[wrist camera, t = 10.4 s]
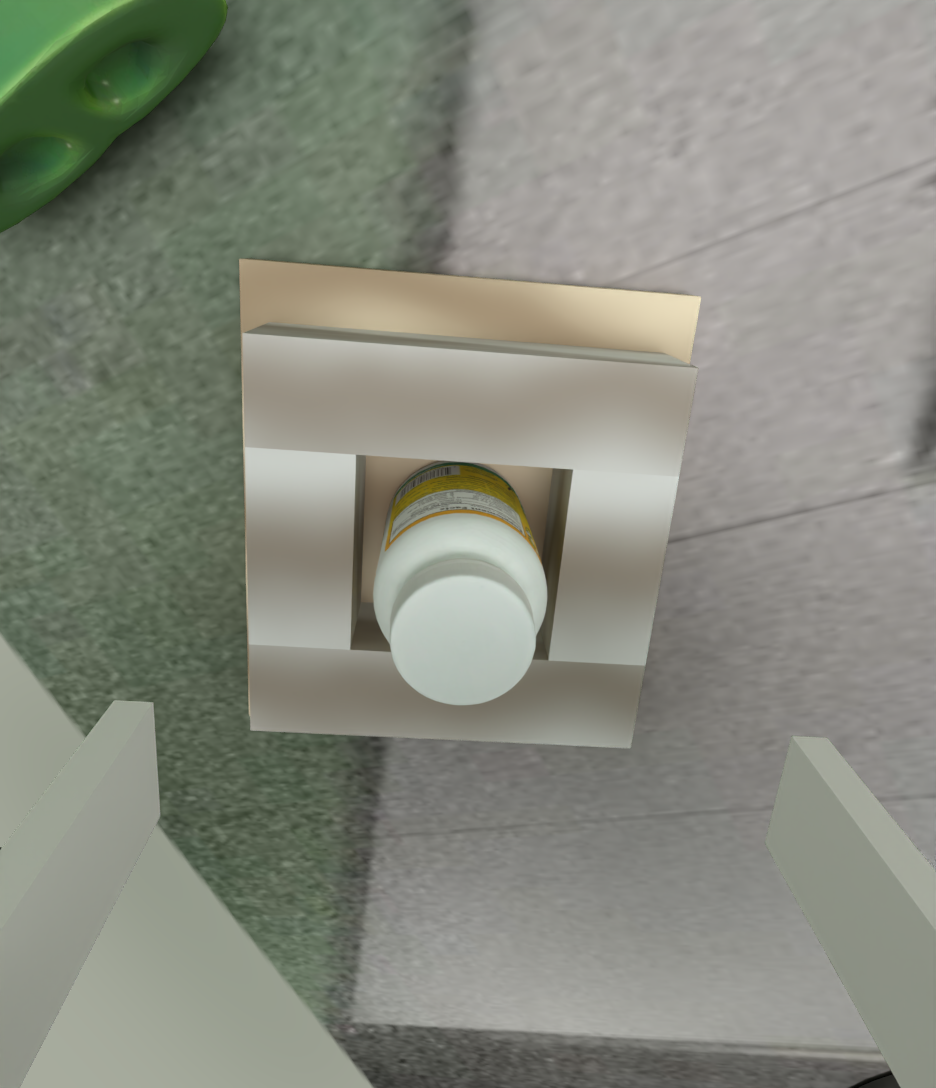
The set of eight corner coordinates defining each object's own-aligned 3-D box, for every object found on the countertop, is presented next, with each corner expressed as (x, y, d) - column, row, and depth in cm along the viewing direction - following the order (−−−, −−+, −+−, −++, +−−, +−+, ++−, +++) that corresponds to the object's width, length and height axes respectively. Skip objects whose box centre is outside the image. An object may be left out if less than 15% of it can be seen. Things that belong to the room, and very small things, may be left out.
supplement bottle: (417, 435, 29) (407, 518, 20) (548, 488, 30) (596, 591, 21) (366, 560, 30) (336, 690, 21) (491, 607, 31) (513, 750, 22)
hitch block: (617, 714, 35) (648, 793, 30) (256, 696, 34) (223, 775, 29) (688, 294, 29) (742, 303, 24) (249, 258, 28) (206, 259, 23)
